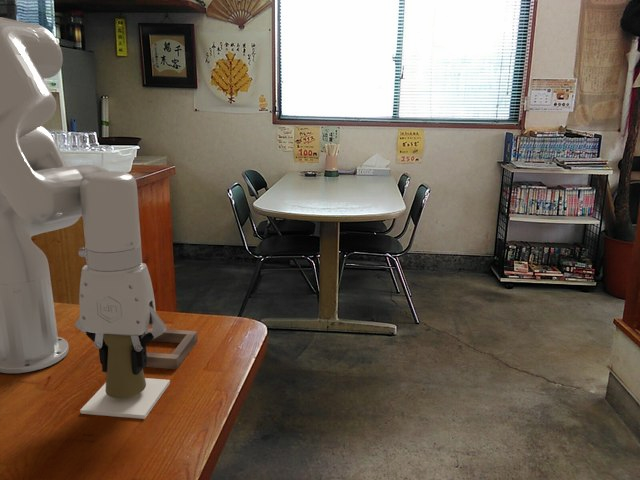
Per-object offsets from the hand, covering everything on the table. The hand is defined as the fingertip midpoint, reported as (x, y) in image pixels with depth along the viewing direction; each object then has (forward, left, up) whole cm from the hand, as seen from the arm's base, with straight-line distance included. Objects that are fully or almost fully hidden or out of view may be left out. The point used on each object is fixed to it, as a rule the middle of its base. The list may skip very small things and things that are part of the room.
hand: (124, 367), depth 82 cm
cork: (0, 0, -4) cm, 4 cm away
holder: (-1, +15, -5) cm, 16 cm away
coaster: (0, 0, -5) cm, 5 cm away
